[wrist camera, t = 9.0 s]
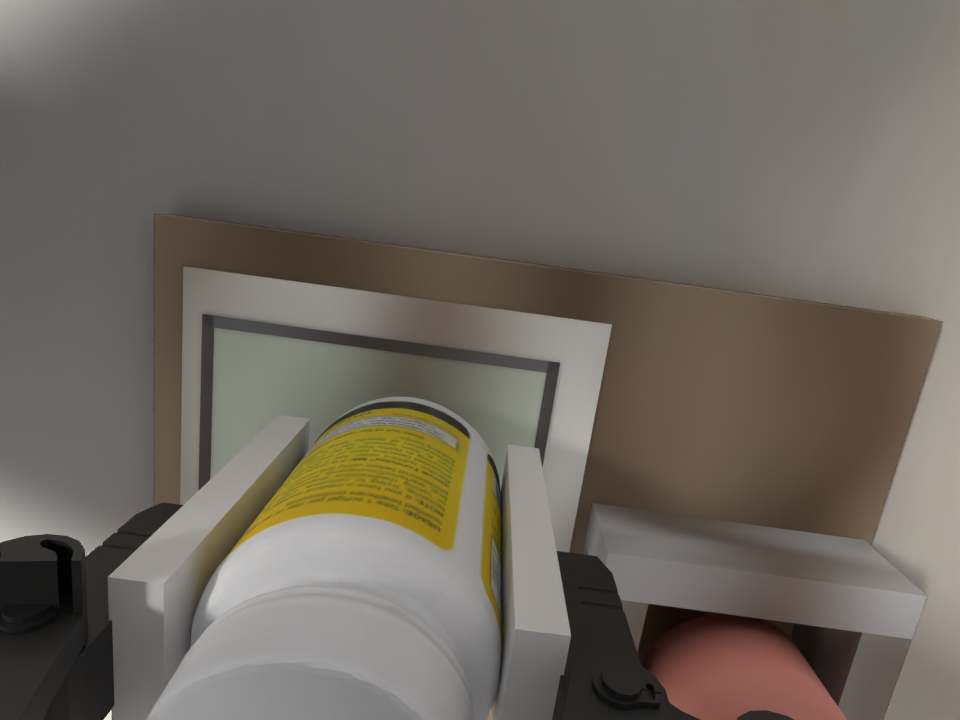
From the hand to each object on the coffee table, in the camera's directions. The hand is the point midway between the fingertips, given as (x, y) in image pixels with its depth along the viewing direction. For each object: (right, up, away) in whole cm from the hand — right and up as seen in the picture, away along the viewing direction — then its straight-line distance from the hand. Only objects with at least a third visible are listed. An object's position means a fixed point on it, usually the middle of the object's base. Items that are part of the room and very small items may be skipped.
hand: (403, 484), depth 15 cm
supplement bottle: (0, 0, +1) cm, 1 cm away
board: (+3, -1, +3) cm, 4 cm away
